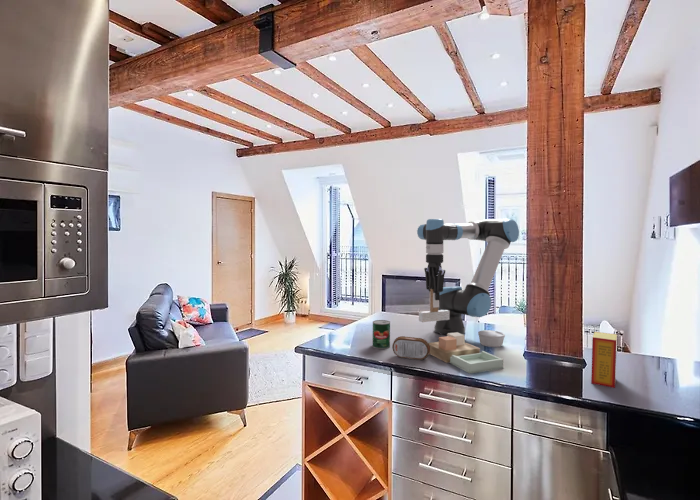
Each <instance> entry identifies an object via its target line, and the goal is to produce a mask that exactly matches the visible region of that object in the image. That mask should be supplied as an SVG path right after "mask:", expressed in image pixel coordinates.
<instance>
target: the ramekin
mask: <svg viewBox="0 0 700 500" xmlns="http://www.w3.org/2000/svg"><path fill="white" fill-rule="evenodd" d="M477 334H478V339H479V343H480V344H481V345H482V346H484V347H488V348H500V347H503V344H504V340H505V337H506V334H505V333H503V332H501V331H497V330H489V329H484V330H479V331H478V333H477Z"/></svg>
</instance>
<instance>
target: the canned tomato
mask: <svg viewBox="0 0 700 500" xmlns="http://www.w3.org/2000/svg"><path fill="white" fill-rule="evenodd" d="M390 347H391V321H389V320H385V319H377V320H373V321H372V348H373V349H379V350H385V349H389V348H390Z"/></svg>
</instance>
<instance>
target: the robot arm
mask: <svg viewBox="0 0 700 500" xmlns="http://www.w3.org/2000/svg"><path fill="white" fill-rule="evenodd" d="M416 232H417V237H418V238H419V239H421V240H425V245H426V247H425V253H426V254H425V263H427V267H424V268H423V270H424V273H425V274H424V275H425V289H426V290H427V291H428V293H429V295H428V296H429V299H430V289H434V292H433V308H435V307H438V310H449V311H450V313H449V320H440V321H435V324H434V329H433V330H434V332H435V333H437V334H441V335H446V336H447V333H455V332H458V333H460V334H463V335H465V332H466V327H465V324H464V321H463V318H462V315H464V316H469V317H472V318H482V317H484V316H486V315H488V313H489V312H490V309H491V308H492V298H491V296H490V294H491V292H490V291H489V288H490V286H491V284H492V281H493V279H494V276H495V274H496V271H497V269H498V266H499V263H500V262H501V259H502V257H503V254H504V251H505V250H506V249H508V248H509V247H510V245H511V243H514V242H517V240H518V239H519V236H520V228H519V225H518V224H517V222H516V221H515V219H512V218H494V219H492V218H491V219H490V218H489V219H483V220H481V219H480V220H476V221H469V222H467V223H444V219H443V218H428V219H427V220H426V223H425V224H420V225H419V226H418V228H417V230H416ZM460 239H468V240H470V241H471V240H473V241H474V240H475V241H482V242H486V243H487V244H486V246H485V248H484V250H483V253H482V256H481V258H480V260H479V263H478V264H477V267H476V269H475V272H474V275H473V278H472V280H471V282H470V283H467V284H466V285H465V287H464V290H463V288H462V286H458V285H457V286H456V285H455V286H444V283H445V281H444V280H445V275H446V270H445V269H443V268H442V263H444V241H457V240H460Z"/></svg>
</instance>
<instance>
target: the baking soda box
mask: <svg viewBox="0 0 700 500" xmlns="http://www.w3.org/2000/svg"><path fill="white" fill-rule="evenodd" d="M591 341H592V343H591V345H592V347H591V376H590V379H591V382H590V384H593V385H597V386H603V387H608V388H613V389H616V378H617V373H616V372H617V347H618V346H617V344H618V343H617V342H618V334H616V333H608V332H599V331H594V332H593V335H592V340H591Z"/></svg>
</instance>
